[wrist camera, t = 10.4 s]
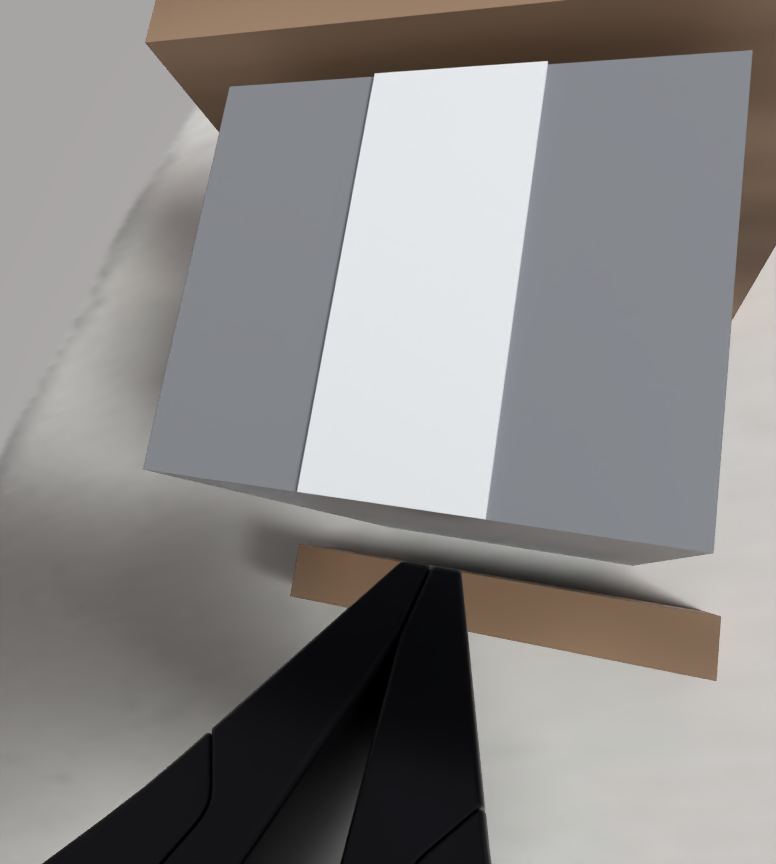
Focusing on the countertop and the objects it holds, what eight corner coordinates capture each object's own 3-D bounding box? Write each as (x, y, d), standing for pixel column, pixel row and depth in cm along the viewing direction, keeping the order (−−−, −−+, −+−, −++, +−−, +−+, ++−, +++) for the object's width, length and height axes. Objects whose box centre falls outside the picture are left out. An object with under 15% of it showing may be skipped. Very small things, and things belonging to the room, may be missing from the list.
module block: (632, 565, 15) (715, 552, 6) (388, 526, 17) (140, 468, 7) (652, 359, 16) (753, 45, 6) (417, 344, 18) (227, 84, 8)
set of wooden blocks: (698, 667, 14) (925, 849, 5) (322, 593, 17) (-1, 618, 8) (730, 255, 16) (945, -210, 6) (381, 249, 19) (176, -82, 9)
